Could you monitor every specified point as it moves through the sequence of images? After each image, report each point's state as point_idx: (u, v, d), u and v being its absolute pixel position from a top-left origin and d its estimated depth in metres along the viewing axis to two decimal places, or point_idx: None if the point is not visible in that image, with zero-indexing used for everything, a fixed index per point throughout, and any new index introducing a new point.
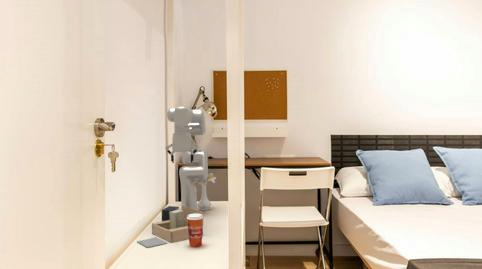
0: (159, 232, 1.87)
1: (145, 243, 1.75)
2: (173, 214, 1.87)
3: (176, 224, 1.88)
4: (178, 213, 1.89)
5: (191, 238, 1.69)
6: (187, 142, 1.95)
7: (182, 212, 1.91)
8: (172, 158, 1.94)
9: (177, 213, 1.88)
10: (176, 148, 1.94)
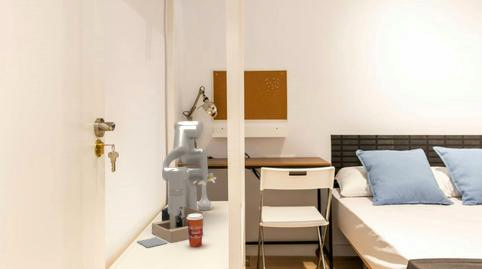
0: (159, 232, 1.87)
1: (145, 243, 1.75)
2: None
3: None
4: None
5: (191, 238, 1.69)
6: None
7: None
8: (182, 224, 1.89)
9: None
10: None
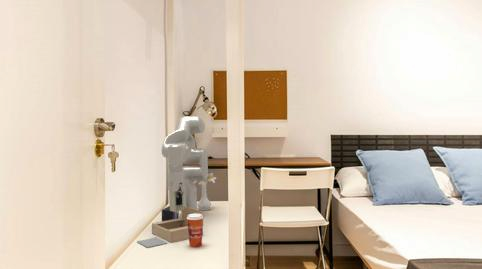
0: (159, 232, 1.87)
1: (145, 243, 1.75)
2: None
3: None
4: None
5: (191, 238, 1.69)
6: None
7: None
8: None
9: None
10: None
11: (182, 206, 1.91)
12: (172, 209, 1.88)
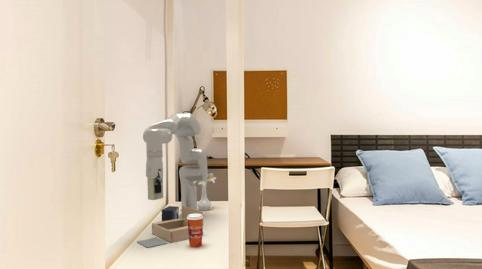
0: (159, 232, 1.87)
1: (145, 243, 1.75)
2: None
3: (154, 187, 1.76)
4: None
5: (191, 238, 1.69)
6: None
7: None
8: None
9: None
10: None
11: (161, 194, 1.79)
12: (151, 197, 1.76)
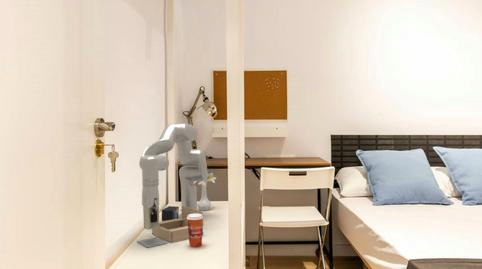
0: (159, 232, 1.87)
1: (145, 243, 1.75)
2: None
3: (150, 216, 1.74)
4: None
5: (191, 238, 1.69)
6: None
7: None
8: None
9: None
10: None
11: (157, 223, 1.77)
12: (146, 227, 1.74)
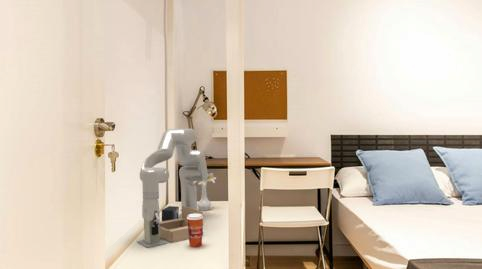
0: None
1: (145, 243, 1.75)
2: (147, 220, 1.74)
3: (150, 231, 1.74)
4: (153, 219, 1.75)
5: (191, 238, 1.69)
6: None
7: None
8: None
9: None
10: None
11: (158, 237, 1.77)
12: (147, 241, 1.74)
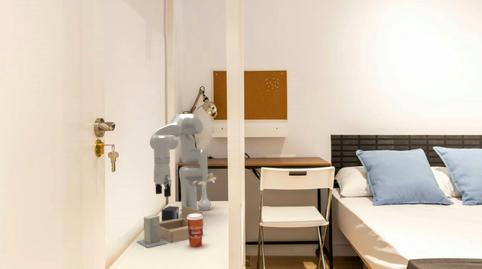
0: None
1: (145, 243, 1.75)
2: (147, 220, 1.74)
3: (150, 231, 1.74)
4: (153, 219, 1.75)
5: (191, 238, 1.69)
6: None
7: (158, 218, 1.77)
8: (170, 191, 1.81)
9: (152, 219, 1.74)
10: None
11: (158, 237, 1.77)
12: (147, 241, 1.74)
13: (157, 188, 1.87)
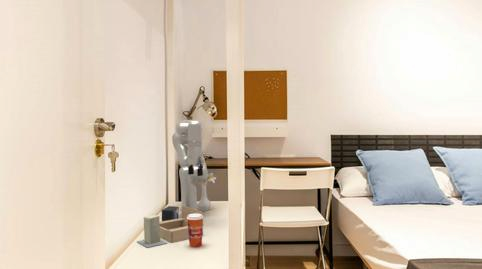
0: None
1: (145, 243, 1.75)
2: (147, 220, 1.74)
3: (150, 231, 1.74)
4: (153, 219, 1.75)
5: (191, 238, 1.69)
6: None
7: (158, 218, 1.77)
8: (202, 171, 2.05)
9: (152, 219, 1.74)
10: None
11: (158, 237, 1.77)
12: (147, 241, 1.74)
13: (190, 169, 2.11)
